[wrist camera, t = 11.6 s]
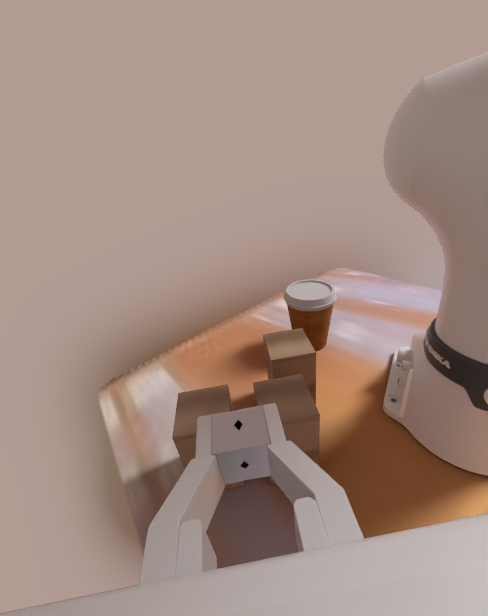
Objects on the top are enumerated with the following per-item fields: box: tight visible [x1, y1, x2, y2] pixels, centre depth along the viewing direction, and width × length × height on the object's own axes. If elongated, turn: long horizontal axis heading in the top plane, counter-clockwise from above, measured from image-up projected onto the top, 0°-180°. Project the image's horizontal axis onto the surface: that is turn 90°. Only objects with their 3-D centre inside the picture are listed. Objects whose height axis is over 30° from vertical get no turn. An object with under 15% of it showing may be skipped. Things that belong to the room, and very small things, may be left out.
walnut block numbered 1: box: [253, 374, 320, 485], centre depth 33 cm, size 6×6×11 cm
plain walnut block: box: [173, 385, 245, 490], centre depth 33 cm, size 6×6×11 cm
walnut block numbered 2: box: [263, 328, 316, 405], centre depth 41 cm, size 6×6×11 cm
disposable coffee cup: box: [284, 279, 337, 351], centre depth 52 cm, size 10×10×12 cm
